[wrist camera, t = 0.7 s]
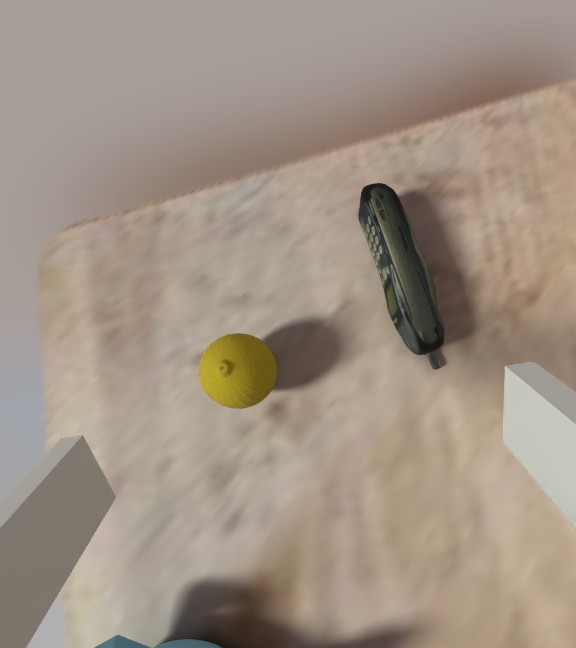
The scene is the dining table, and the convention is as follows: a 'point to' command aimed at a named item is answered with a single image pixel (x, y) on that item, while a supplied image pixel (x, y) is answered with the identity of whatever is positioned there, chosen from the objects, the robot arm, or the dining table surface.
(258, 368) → the lemon
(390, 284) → the mobile phone
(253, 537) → the dining table surface
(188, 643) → the teapot
